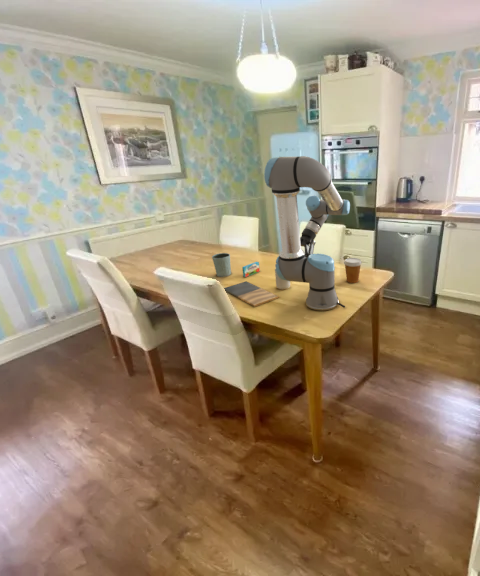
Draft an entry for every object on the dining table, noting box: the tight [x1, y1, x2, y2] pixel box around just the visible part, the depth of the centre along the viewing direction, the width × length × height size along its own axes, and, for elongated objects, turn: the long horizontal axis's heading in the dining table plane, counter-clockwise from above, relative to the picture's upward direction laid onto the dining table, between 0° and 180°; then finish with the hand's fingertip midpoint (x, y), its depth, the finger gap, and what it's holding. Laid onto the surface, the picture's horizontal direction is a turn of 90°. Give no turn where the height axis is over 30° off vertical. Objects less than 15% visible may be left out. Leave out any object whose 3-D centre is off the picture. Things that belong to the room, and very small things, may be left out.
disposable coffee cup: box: [343, 257, 362, 284], centre depth 174 cm, size 10×10×12 cm
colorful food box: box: [241, 261, 261, 278], centre depth 190 cm, size 12×2×6 cm, turn 145°
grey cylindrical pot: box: [211, 252, 232, 278], centre depth 189 cm, size 10×10×12 cm
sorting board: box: [223, 280, 279, 308], centre depth 163 cm, size 30×14×1 cm, turn 44°
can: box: [274, 268, 291, 290], centre depth 168 cm, size 8×8×12 cm
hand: (290, 264), depth 170 cm, fingers open, 13 cm apart
